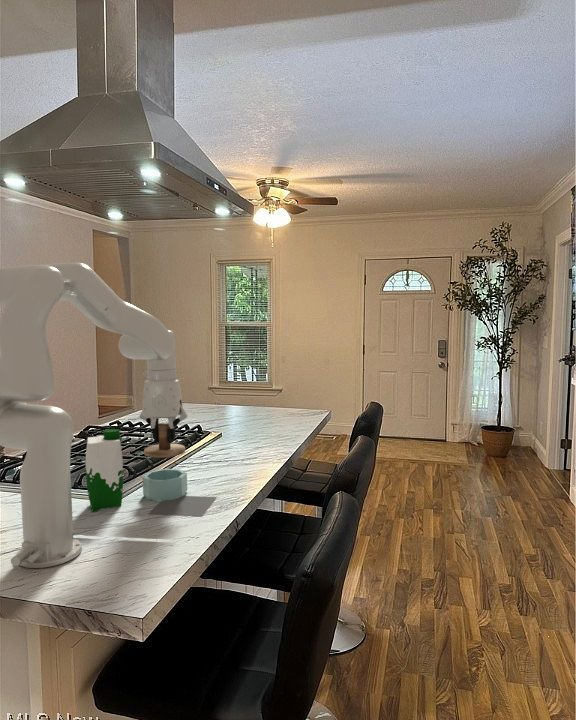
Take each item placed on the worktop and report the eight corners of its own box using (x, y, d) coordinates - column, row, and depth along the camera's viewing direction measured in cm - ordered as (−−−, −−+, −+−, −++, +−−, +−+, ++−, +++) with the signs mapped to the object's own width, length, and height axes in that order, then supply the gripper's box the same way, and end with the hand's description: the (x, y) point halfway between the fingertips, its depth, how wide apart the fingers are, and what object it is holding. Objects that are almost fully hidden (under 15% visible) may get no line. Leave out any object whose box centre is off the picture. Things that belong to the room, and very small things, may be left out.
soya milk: (125, 508, 139) (122, 433, 137) (87, 513, 135) (84, 436, 134) (122, 498, 147) (120, 426, 145) (87, 502, 144) (84, 429, 142)
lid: (177, 458, 141) (176, 428, 140) (137, 457, 143) (136, 427, 142) (190, 447, 152) (189, 419, 151) (153, 446, 154) (152, 419, 153)
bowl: (177, 503, 142) (177, 481, 141) (138, 502, 143) (137, 480, 143) (191, 490, 153) (190, 469, 152) (154, 488, 154) (153, 468, 154)
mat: (202, 518, 131) (202, 516, 131) (147, 516, 133) (147, 514, 133) (217, 499, 145) (217, 497, 145) (167, 497, 147) (167, 495, 147)
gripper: (127, 377, 143) (130, 444, 144) (186, 377, 140) (188, 446, 142) (138, 373, 150) (141, 438, 152) (195, 373, 148) (197, 439, 150)
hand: (164, 441), depth 147 cm, fingers closed on lid, 3 cm apart
